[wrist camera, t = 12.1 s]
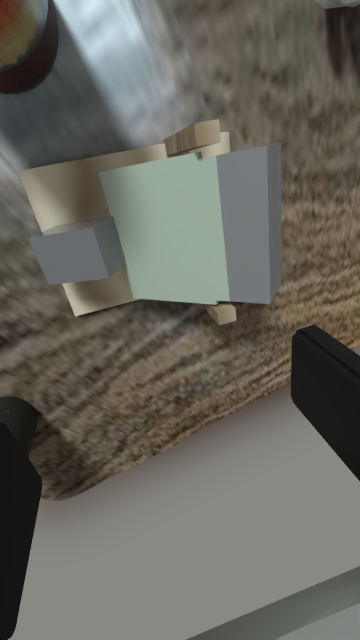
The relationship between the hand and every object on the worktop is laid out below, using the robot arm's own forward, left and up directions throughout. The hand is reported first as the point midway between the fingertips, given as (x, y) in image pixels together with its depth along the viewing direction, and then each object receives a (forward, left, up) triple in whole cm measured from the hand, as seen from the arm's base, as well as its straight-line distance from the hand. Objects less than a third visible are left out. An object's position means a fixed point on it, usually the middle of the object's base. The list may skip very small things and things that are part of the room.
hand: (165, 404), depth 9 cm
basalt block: (+1, 0, -24) cm, 24 cm away
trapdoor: (-10, 0, -24) cm, 26 cm away
